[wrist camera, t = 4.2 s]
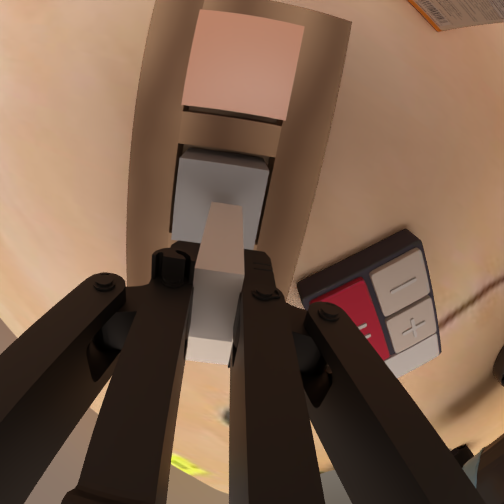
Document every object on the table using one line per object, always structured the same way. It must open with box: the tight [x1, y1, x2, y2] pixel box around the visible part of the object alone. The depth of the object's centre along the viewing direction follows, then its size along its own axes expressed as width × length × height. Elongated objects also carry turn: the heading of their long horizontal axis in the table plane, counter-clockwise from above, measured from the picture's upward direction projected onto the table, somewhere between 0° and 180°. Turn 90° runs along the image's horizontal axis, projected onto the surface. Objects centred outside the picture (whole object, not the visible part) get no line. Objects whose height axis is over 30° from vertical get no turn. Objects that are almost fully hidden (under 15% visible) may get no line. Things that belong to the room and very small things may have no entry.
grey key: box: [171, 147, 269, 250], centre depth 20 cm, size 5×5×4 cm
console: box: [126, 0, 352, 302], centre depth 21 cm, size 12×26×3 cm, turn 170°
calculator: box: [297, 229, 441, 378], centre depth 28 cm, size 11×4×15 cm
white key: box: [185, 336, 233, 365], centre depth 22 cm, size 5×5×4 cm
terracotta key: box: [181, 9, 305, 121], centre depth 15 cm, size 5×5×4 cm
